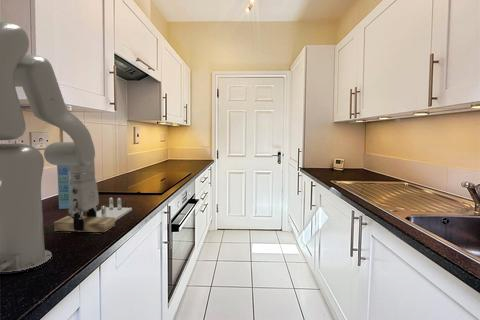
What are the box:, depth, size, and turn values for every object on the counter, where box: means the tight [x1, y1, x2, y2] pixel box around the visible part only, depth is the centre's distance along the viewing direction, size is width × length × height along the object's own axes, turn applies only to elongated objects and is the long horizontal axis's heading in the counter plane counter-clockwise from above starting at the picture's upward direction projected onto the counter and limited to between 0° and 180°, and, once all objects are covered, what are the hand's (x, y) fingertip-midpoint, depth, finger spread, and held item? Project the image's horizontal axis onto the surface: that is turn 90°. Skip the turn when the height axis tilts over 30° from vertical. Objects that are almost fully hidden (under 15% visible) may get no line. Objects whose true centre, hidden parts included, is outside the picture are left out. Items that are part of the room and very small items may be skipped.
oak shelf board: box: [53, 215, 116, 232], centre depth 101 cm, size 18×7×4 cm, turn 86°
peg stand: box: [96, 197, 133, 222], centre depth 116 cm, size 19×12×6 cm, turn 178°
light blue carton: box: [56, 165, 71, 210], centre depth 134 cm, size 20×5×23 cm, turn 14°
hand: (85, 225), depth 101 cm, fingers closed on oak shelf board, 7 cm apart
